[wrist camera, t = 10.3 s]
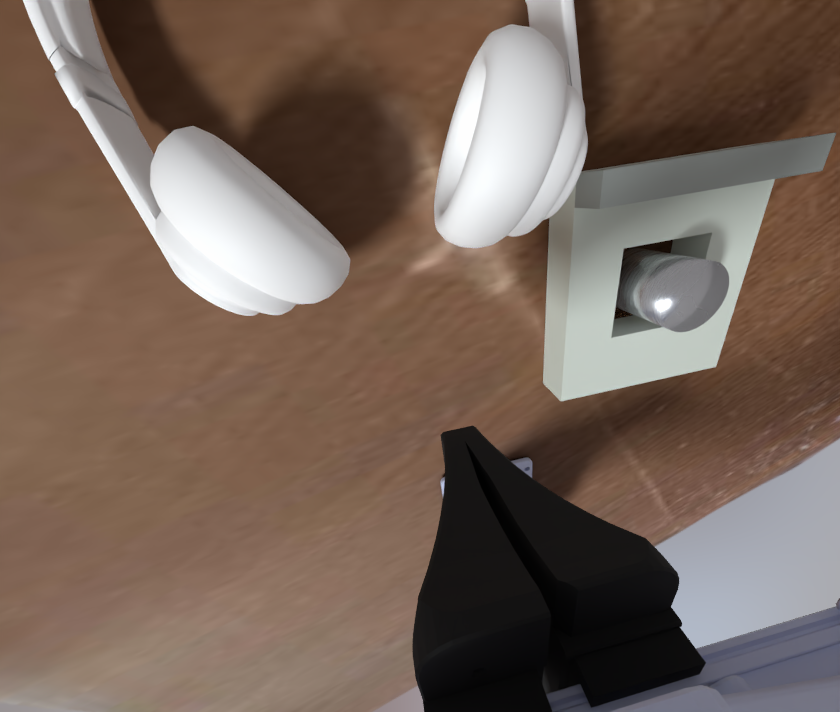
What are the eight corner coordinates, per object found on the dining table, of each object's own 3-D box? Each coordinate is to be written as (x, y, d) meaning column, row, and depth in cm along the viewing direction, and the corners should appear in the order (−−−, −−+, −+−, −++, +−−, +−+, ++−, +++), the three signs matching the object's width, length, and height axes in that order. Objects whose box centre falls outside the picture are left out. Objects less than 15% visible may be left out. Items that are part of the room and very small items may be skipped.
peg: (645, 304, 23) (713, 329, 19) (595, 308, 23) (652, 335, 18) (662, 246, 22) (740, 258, 17) (607, 249, 21) (674, 262, 17)
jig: (685, 352, 26) (744, 380, 22) (543, 383, 25) (578, 418, 21) (738, 146, 20) (836, 132, 16) (550, 176, 19) (603, 170, 15)
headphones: (553, 215, 19) (478, -347, 12) (666, 201, 12) (648, -1280, 5) (238, 319, 19) (-37, -198, 12) (150, 371, 11) (-760, -967, 4)
